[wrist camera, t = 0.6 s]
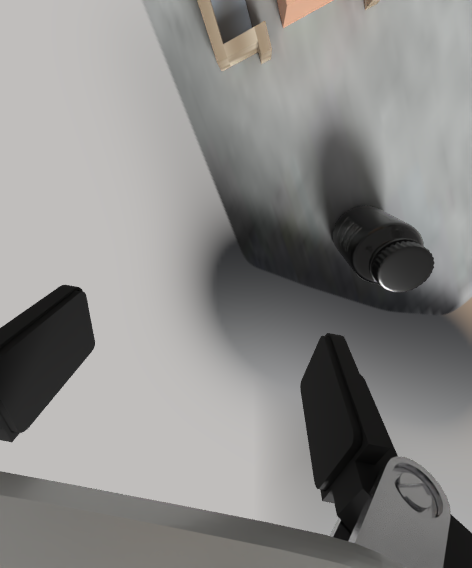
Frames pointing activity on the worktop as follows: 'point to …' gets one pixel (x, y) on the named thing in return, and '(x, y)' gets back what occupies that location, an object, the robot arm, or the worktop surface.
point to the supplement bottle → (382, 249)
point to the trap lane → (237, 31)
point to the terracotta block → (297, 9)
